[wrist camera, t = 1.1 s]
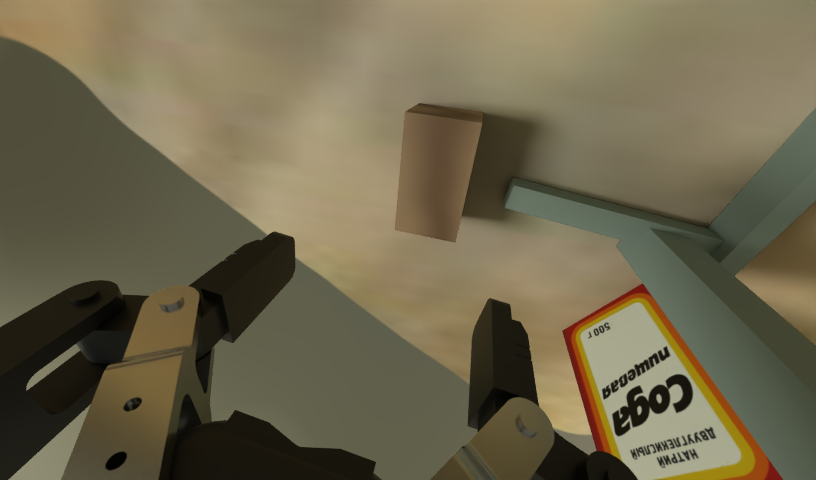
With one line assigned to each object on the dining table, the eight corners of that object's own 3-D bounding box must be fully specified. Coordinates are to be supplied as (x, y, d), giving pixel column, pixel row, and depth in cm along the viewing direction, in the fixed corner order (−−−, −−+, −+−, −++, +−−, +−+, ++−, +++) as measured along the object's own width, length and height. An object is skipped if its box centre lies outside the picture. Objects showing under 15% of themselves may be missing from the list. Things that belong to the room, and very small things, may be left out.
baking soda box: (648, 280, 26) (818, 507, 13) (698, 318, 27) (909, 569, 13) (562, 330, 31) (619, 530, 18) (606, 361, 32) (693, 574, 19)
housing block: (408, 205, 28) (394, 229, 24) (419, 103, 23) (405, 111, 19) (460, 215, 27) (455, 242, 23) (483, 111, 22) (482, 122, 18)
